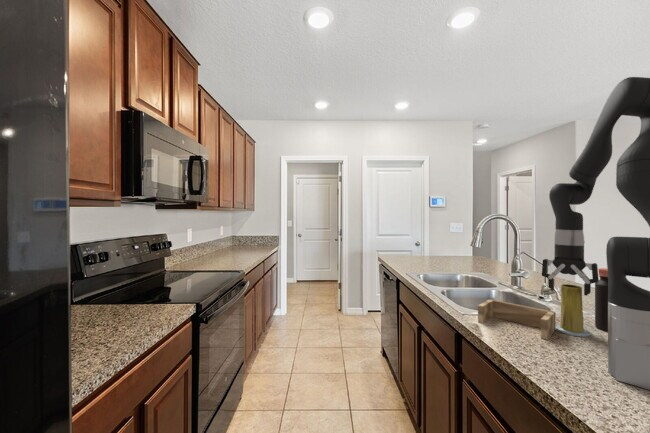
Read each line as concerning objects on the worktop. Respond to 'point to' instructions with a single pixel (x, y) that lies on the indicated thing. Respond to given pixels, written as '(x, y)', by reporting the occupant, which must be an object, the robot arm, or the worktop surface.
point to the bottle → (601, 300)
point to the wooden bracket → (518, 315)
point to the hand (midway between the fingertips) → (568, 292)
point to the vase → (571, 308)
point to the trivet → (580, 334)
